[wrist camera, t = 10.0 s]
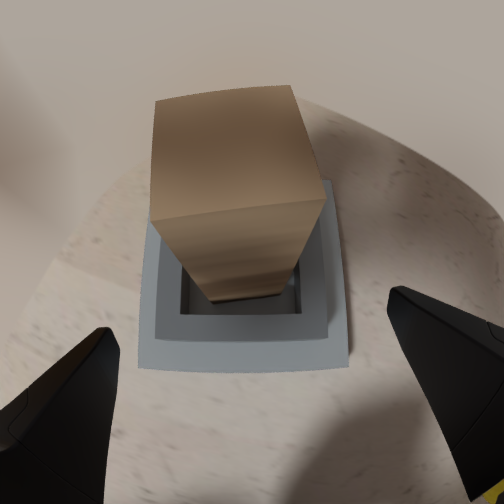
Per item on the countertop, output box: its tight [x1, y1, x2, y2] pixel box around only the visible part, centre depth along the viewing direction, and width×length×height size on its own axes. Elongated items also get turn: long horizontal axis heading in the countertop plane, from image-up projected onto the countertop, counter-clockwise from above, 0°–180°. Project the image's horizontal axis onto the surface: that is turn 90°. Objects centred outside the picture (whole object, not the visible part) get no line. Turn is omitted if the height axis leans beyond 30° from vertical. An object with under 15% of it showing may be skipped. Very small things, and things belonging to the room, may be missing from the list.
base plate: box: [138, 180, 349, 373], centre depth 20 cm, size 14×14×4 cm
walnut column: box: [150, 85, 327, 305], centre depth 14 cm, size 4×4×13 cm
